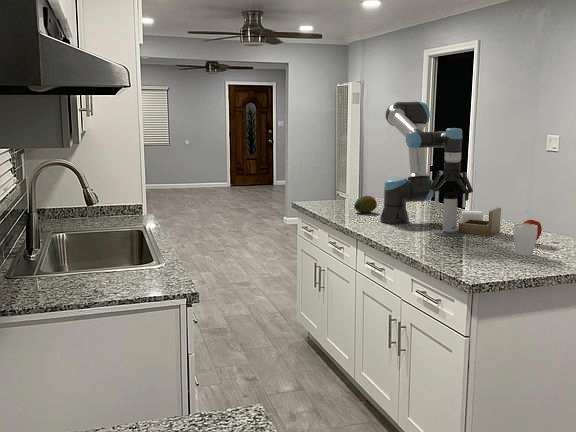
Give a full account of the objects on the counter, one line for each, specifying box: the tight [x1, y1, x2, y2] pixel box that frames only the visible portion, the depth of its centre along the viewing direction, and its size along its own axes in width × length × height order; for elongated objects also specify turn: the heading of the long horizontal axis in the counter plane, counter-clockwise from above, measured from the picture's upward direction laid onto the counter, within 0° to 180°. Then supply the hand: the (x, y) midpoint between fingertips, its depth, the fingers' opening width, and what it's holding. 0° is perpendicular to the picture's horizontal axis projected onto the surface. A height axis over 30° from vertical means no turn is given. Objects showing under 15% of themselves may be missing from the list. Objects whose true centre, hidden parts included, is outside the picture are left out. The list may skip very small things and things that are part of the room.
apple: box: [522, 219, 543, 241], centre depth 255 cm, size 9×8×11 cm
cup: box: [513, 223, 537, 257], centre depth 235 cm, size 9×9×12 cm
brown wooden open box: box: [458, 207, 502, 238], centre depth 279 cm, size 16×14×12 cm
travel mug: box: [442, 190, 459, 234], centre depth 276 cm, size 6×7×20 cm
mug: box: [460, 210, 484, 222], centre depth 299 cm, size 12×10×8 cm
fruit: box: [353, 195, 378, 214], centre depth 339 cm, size 12×13×10 cm
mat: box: [433, 229, 466, 238], centre depth 278 cm, size 14×14×1 cm
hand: (450, 205), depth 276 cm, fingers open, 13 cm apart
